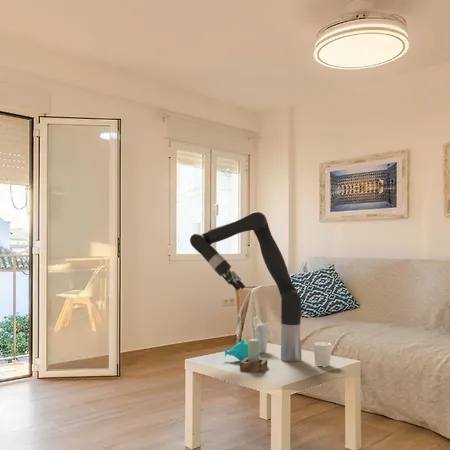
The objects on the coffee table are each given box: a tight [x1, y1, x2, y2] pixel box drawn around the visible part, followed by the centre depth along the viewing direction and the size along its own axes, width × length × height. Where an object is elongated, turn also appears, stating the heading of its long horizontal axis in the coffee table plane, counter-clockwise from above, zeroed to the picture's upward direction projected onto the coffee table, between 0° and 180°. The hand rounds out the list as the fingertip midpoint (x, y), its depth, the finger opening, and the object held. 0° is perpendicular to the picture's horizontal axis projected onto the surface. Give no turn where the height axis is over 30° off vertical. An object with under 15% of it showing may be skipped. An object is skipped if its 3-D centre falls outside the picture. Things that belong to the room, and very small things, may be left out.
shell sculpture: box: [252, 316, 271, 354], centre depth 247 cm, size 8×8×18 cm
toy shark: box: [222, 338, 262, 362], centre depth 227 cm, size 10×18×11 cm, turn 88°
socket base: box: [239, 357, 268, 373], centre depth 213 cm, size 10×10×4 cm
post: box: [247, 338, 260, 363], centre depth 213 cm, size 5×5×12 cm
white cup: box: [313, 341, 332, 367], centre depth 221 cm, size 8×8×10 cm
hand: (241, 288), depth 234 cm, fingers open, 8 cm apart
